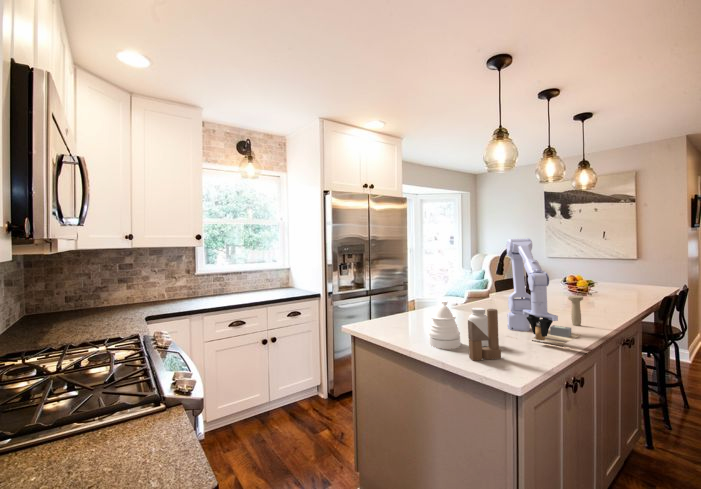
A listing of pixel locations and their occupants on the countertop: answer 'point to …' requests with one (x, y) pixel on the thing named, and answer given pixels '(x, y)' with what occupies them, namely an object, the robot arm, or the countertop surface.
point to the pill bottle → (480, 321)
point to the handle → (576, 310)
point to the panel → (557, 339)
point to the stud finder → (560, 331)
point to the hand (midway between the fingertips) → (540, 335)
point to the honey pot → (444, 329)
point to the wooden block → (478, 336)
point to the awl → (538, 332)
